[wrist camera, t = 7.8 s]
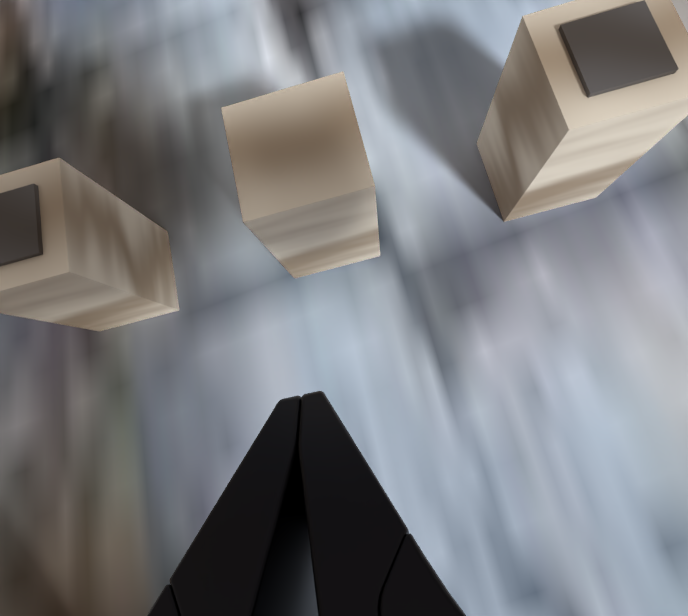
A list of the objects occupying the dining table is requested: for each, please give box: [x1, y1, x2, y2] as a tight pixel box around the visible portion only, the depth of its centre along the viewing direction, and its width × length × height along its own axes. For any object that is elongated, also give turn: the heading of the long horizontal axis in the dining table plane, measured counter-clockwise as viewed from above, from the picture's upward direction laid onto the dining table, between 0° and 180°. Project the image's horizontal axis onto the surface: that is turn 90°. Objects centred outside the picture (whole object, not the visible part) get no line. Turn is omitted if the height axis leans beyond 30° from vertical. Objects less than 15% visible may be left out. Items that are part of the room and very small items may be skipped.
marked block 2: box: [0, 158, 179, 331], centre depth 19 cm, size 5×5×8 cm
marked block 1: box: [477, 0, 688, 222], centre depth 18 cm, size 5×5×8 cm
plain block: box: [221, 72, 380, 278], centre depth 19 cm, size 5×5×8 cm
